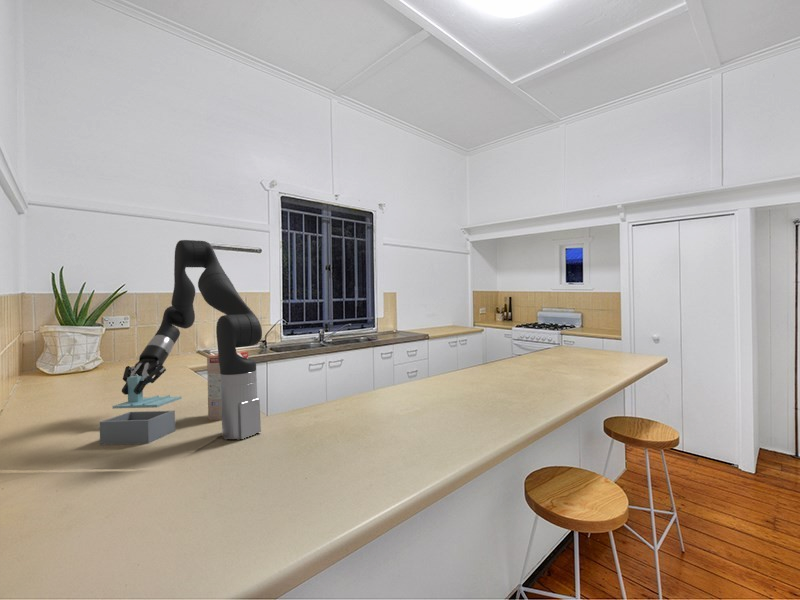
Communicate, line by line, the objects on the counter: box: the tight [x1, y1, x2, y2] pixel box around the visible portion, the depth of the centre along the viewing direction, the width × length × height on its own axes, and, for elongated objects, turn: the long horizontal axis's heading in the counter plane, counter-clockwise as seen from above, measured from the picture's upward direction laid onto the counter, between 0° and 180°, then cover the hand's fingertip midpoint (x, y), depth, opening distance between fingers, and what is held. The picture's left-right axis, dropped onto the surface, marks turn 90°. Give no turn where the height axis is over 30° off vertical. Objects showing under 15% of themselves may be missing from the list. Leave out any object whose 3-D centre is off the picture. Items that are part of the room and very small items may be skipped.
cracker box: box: [206, 350, 249, 421], centre depth 124 cm, size 14×6×21 cm, turn 168°
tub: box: [99, 410, 176, 445], centre depth 103 cm, size 14×10×6 cm
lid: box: [112, 375, 183, 409], centre depth 120 cm, size 15×11×9 cm
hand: (130, 392), depth 119 cm, fingers closed on lid, 3 cm apart
